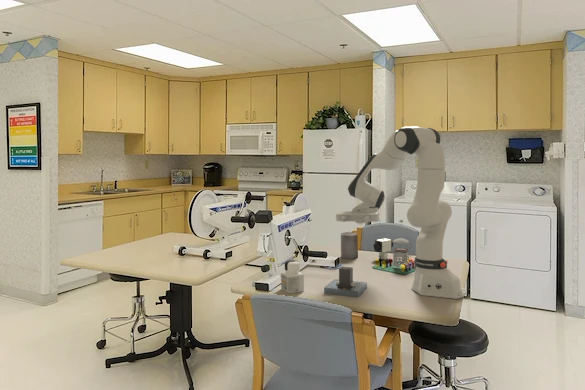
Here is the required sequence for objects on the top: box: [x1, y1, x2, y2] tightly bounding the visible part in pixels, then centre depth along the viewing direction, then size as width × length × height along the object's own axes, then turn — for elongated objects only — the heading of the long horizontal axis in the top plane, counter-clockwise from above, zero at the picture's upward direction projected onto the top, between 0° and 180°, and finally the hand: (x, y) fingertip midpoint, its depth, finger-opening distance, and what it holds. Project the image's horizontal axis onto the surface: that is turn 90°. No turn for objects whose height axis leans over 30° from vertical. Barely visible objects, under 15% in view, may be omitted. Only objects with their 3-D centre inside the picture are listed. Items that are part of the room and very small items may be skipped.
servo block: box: [336, 266, 356, 289], centre depth 200 cm, size 6×8×10 cm
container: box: [280, 259, 305, 294], centre depth 202 cm, size 8×8×13 cm
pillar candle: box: [340, 231, 359, 260], centre depth 264 cm, size 10×10×15 cm
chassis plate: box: [323, 278, 368, 298], centre depth 201 cm, size 14×15×2 cm
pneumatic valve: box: [373, 237, 394, 260], centre depth 259 cm, size 6×12×12 cm, turn 128°
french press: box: [392, 219, 414, 267], centre depth 240 cm, size 10×12×25 cm
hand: (353, 220), depth 211 cm, fingers open, 8 cm apart
